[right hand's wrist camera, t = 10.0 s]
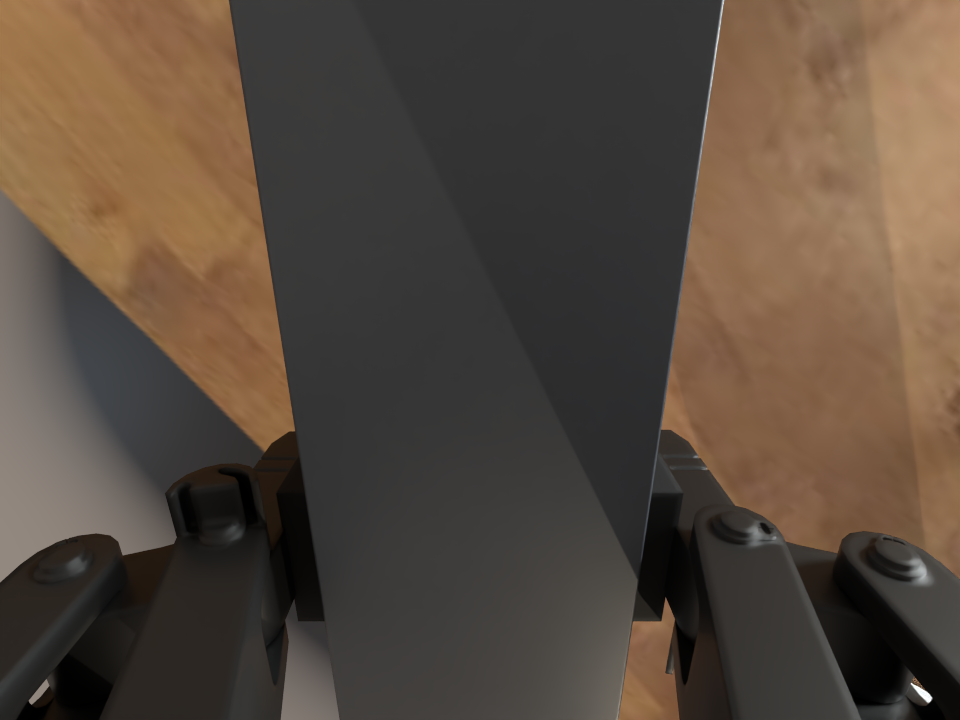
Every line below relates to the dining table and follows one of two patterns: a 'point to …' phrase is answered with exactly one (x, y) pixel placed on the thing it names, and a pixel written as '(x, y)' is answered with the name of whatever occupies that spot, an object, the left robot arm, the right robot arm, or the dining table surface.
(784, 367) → the dining table surface
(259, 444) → the dining table surface
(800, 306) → the dining table surface
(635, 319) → the bar
